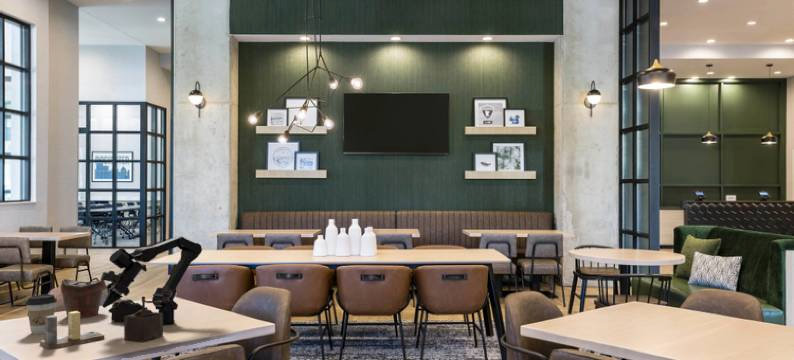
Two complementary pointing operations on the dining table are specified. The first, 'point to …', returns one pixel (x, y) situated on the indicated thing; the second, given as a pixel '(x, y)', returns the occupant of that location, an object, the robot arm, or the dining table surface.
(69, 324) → the leg
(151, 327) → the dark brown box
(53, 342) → the gauge board
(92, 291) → the brown wicker basket
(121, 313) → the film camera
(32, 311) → the coffee cup
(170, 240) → the robot arm
